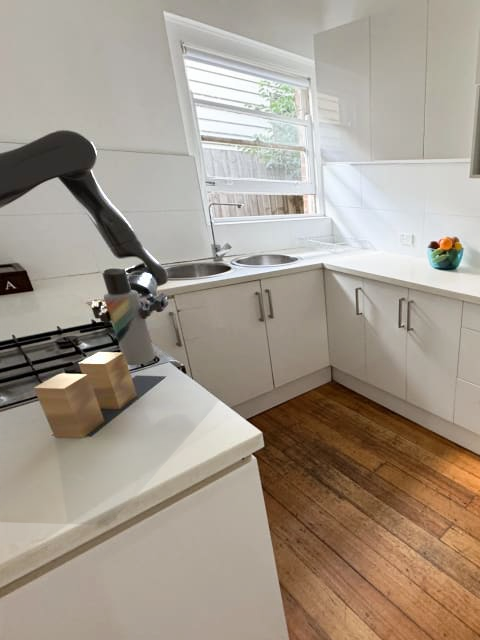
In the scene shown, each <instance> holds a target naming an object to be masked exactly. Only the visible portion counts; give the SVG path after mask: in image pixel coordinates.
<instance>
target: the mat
mask: <svg viewBox="0 0 480 640" xmlns="http://www.w3.org/2000/svg"><path fill="white" fill-rule="evenodd" d="M131 378H132V381H133V384H134V387H135V391H136V394H137V396H136V397H135V398H134V399H132V400H131V401H130V402H128V403H127V404H126V405H125V406H123V407H122V408H121V409H100V410H101V413H102V415H103V418H104V422H103V423H102V424H100V425H99V426H98V427H97V428H95V429H94V430H93V431H91V432H90V433H89V434H88V435H86V436H85V437H86V438H87V437H90V438H92V437H93V436H94V435H96V434H97V433H98V432H99V431H100V430H102V429H103V428H105V426H107V425H108V424H109V423H111V422H112V421H113V420H114V419H115V418H117V417H118V416H119V415H121V414H122V413H123V412H124V411H125V410H127V409H128V408H129V407H130V406H132V405H133V404H134V403H136V401H138V400H139V399H140V398H142V397H143V396H145V394H147V393H148V392H149V391H150V390H152V389H153V388H154V387H155V386H157V385H158V384H159V383H160V382H162V381H163V380H164V379H166V378H167V376H166V375H134V376H133V377H131ZM51 436H52V437H55V436H54V434H53V433H52V434H51ZM85 437H84V438H85Z"/></svg>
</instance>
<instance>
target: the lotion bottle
mask: <svg viewBox="0 0 480 640" xmlns="http://www.w3.org/2000/svg"><path fill="white" fill-rule="evenodd" d="M101 273H102V278H103V281H104V284H105V285H104V286H105V288H106V291H107V293H105V294H104V295H103V299H104V300H103V301H104V302H105V303H106V306H107V310H108V313H109V316H110V319H111V321H110V322H111V325H112V328H113V331H114V334H115V337H116V340H117V343H118V346H119V350H120V353H124V355H125V358H126V361H127V365H128V366H137V365H143V364H147V363H149V362H152V361H153V360H154V359H155V358H156V352H155V349H154V345H153V342H152V339H151V335H150V331H149V327H148V324H147V321H146V320H147V319H142V317H141V313H140V308H141V302H140V299H139V296H138V293H137V291H135V290H131V287H130V283H129V280H128V277H127V273H126V270H125V269H123V268H122V269H121V268H115V267H114V268H107V269H105V270H104V271H103V272H101Z"/></svg>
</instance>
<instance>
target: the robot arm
mask: <svg viewBox="0 0 480 640" xmlns="http://www.w3.org/2000/svg"><path fill="white" fill-rule="evenodd" d="M97 153H98V152H97V150H96V147H95V146H94V143H93V142H92V141H91V140H90V139H89V138H88V137H86V136H85V135H83V134H81V133H79V132H76V131H73V130H67V129H57V130H54V131H51V132H49V133H47V134H44V136H41V137H39V138H37V139H35V140H32V141H31V142H29V143H26V144H24V145H21V146H19V147H17V148H13V149H11V150H8V151H4V152H0V209H1V208H4V207H6V206H8V205H9V204H11V203H13V202H15V201H16V200H19V199H20V198H21V197H23V196H25V195H26V194H27V193H29V192H31V191H33V190H34V189H35V188H37V187H38V186H40V185H42V184H44V183H46V182H48V181H50V180H53V179H58V180H59V181H60V182H61V183H62V185H64V187H65V188H66V190H68V191H69V192H70V193H71V196H73V197H74V199H75V200H76V201H77V202H78V204H79V205H80V207H81V208H82V209H83V210H84V212H85V213H86V215H87V217H88V218H89V219H90V221H91V222H92V224H93V225H94V227H95V228H96V230H97V231H98V234H99V235H100V236H101V238H102V239H103V241H104V242H105V243H106V246H107V247H108V249H109V250H110V252H111V253H112V254H113V256H114V257H115V258H116V259H119V260H123V259H124V260H125V259H129V258H130V259H131V258H136V259H139V260H140V261H141V263H138V264H135V265H133V266H130V267H127V268H125V269H124V270H126V273H127V277H128V280H129V283H130V287H131V290H135V291H137V293H138V296H139V299H140V302H141V308H140V313H141V317H142V319H145V320H147V319H148V317H150V316H151V315H152V314H153V313H154V312H157V313H161V312H163V311H165V309H166V308H167V306H168V305H169V300H168V297H167V293H160V294H159V295H157V290H158V287H161V286H163V285H165V284H167V283H168V281H169V273H168V271H167V270H166V268H165V267H164V266H163V265H162V264H161V263H160V262H159V261H158V260H157V259H156V258H155V256H153V255H152V254H151V253H150V252H149V251H148V250H147V248H146V247H145V246H144V245H143V243H142V242H141V241H140V240H141V239H139V237H138V236H137V234H136V232H135V231H134V229H133V227H132V226H131V224H130V222H129V221H128V220H127V219H126V217H125V216H124V215H123V214H122V213H121V212H120V211H119V210H118V209H117V207H115V205H114V204H113V203H112V202H111V201H110V200H109V199H108V197H107V196H106V195H105V193H104V191H103V190H102V189H101V187H100V185H99V184H98V182H97V179H96V177H95V175H94V173H93V171H92V170H93V168H94V167H95V165H96V164H97V158H98V154H97ZM90 307H91V310H92V313H93V317H94V319H96V320H100V322H103V323H104V324H110V322H111V319H110V316H109V313H108V310H107V306H106V303H105V301H103V300H100V299H98V298H97V299H93V300H91V306H90Z"/></svg>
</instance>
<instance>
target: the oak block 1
mask: <svg viewBox="0 0 480 640" xmlns="http://www.w3.org/2000/svg"><path fill="white" fill-rule="evenodd" d="M33 390H34V392H35V395H36V397H37V399H38V401H39V404H40V407H41V409H42V411H43V413H44V415H45V418H46V421H47V422H48V425H49V427H50V430H51V432H52V435H53V434H54V436H53V437H54V438H65V439H66V438H67V439H68V438H70V439H73V438H74V439H84V438H85V436H86V435H88V434H89V433H90V432H91V431H93V430H94V429H95V428H97V427H98V426H99V425H100V424H102V423H103V422H104V418H103V415H102V413H101V410H100V407H99V404H98V401H97V399H96V396H95V393H94V390H93V388H92V385H91V382H90V379H89V376H88V374H82V373H58V374H56V375H54V376H52V377H51V378H49V379H47V380H45V381H43V382H42V383H40V384H38V385H36V386H34V387H33Z"/></svg>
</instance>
